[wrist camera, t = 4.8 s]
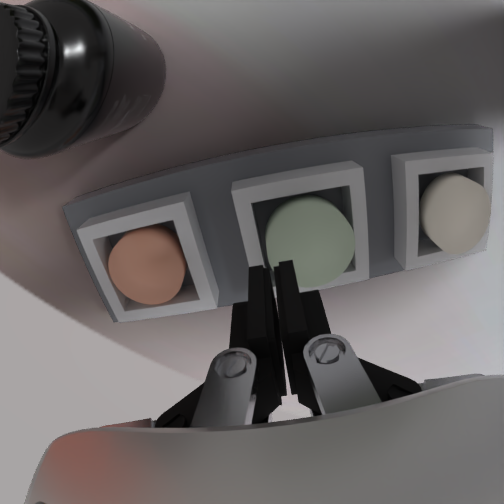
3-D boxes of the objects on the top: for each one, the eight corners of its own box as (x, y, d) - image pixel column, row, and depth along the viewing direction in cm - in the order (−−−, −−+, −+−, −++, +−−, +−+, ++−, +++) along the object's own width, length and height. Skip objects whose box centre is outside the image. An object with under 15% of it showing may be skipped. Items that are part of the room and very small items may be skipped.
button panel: (475, 124, 17) (509, 133, 13) (472, 238, 21) (499, 260, 17) (76, 197, 19) (47, 217, 15) (122, 306, 23) (106, 338, 20)
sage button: (341, 188, 16) (352, 198, 14) (347, 261, 18) (356, 278, 16) (257, 203, 16) (258, 216, 15) (272, 276, 18) (275, 294, 16)
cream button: (475, 169, 15) (493, 177, 14) (471, 234, 17) (486, 246, 15) (417, 176, 15) (434, 185, 14) (417, 247, 17) (431, 261, 16)
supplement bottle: (164, 16, 14) (62, -69, 3) (173, 122, 17) (68, 164, 6) (64, 45, 14) (-81, 33, 3) (74, 142, 17) (-68, 206, 6)
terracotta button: (175, 215, 17) (168, 227, 16) (197, 281, 19) (193, 298, 18) (108, 231, 18) (96, 244, 16) (133, 292, 20) (125, 309, 18)
